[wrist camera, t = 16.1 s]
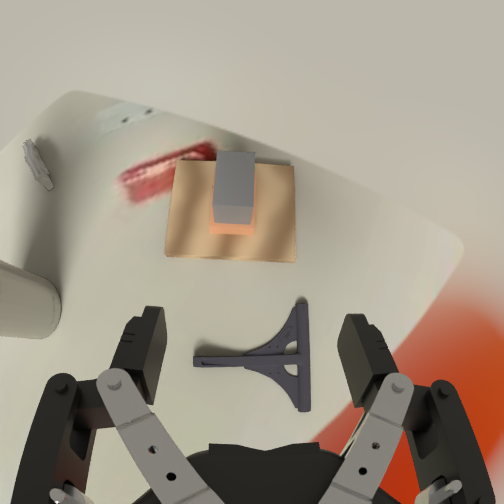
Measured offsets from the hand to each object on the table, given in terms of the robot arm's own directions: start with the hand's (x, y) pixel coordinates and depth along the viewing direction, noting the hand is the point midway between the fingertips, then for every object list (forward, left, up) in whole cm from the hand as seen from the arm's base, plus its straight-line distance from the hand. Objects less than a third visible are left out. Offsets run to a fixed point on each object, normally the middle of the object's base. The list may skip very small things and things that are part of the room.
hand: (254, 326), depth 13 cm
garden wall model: (-36, +24, -27) cm, 51 cm away
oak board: (-2, +17, -27) cm, 31 cm away
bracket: (+2, -3, -28) cm, 28 cm away
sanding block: (-1, +17, -25) cm, 30 cm away
